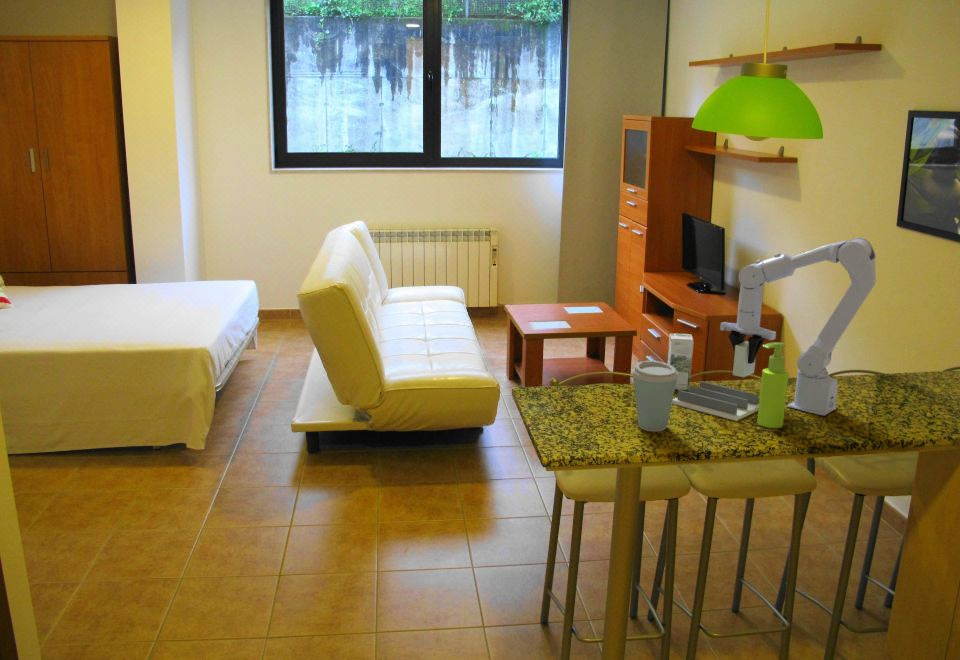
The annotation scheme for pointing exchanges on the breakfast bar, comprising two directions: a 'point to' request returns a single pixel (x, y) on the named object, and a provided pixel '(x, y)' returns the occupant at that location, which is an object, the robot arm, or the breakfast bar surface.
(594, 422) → the breakfast bar surface
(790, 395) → the breakfast bar surface
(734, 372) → the white rectangular block
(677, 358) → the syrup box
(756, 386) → the breakfast bar surface
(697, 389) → the dish rack
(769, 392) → the soap dispenser
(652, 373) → the disposable coffee cup
